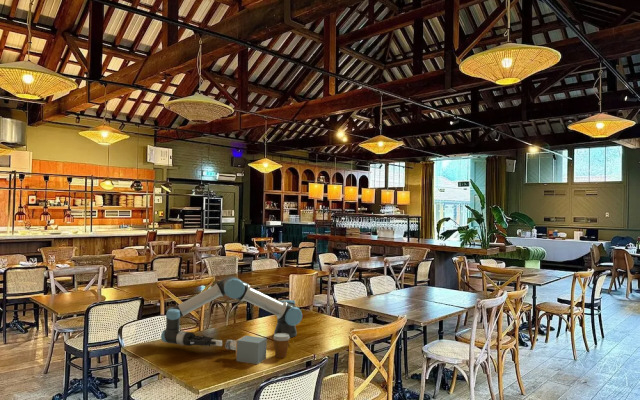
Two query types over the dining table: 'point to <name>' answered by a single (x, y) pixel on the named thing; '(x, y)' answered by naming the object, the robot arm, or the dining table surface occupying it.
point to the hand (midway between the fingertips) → (221, 343)
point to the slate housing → (251, 349)
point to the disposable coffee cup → (281, 344)
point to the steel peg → (230, 344)
